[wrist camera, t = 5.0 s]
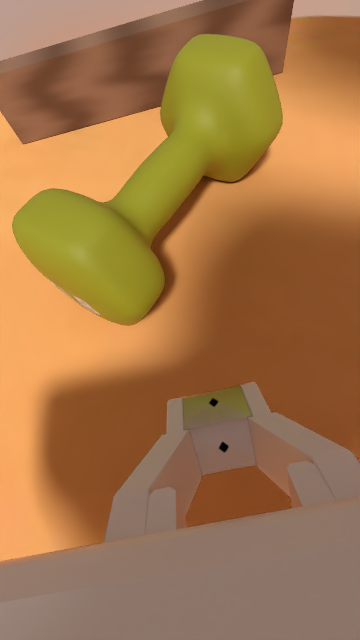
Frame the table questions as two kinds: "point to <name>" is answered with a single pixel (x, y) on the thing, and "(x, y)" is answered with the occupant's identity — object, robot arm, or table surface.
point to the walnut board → (126, 65)
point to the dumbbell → (156, 180)
